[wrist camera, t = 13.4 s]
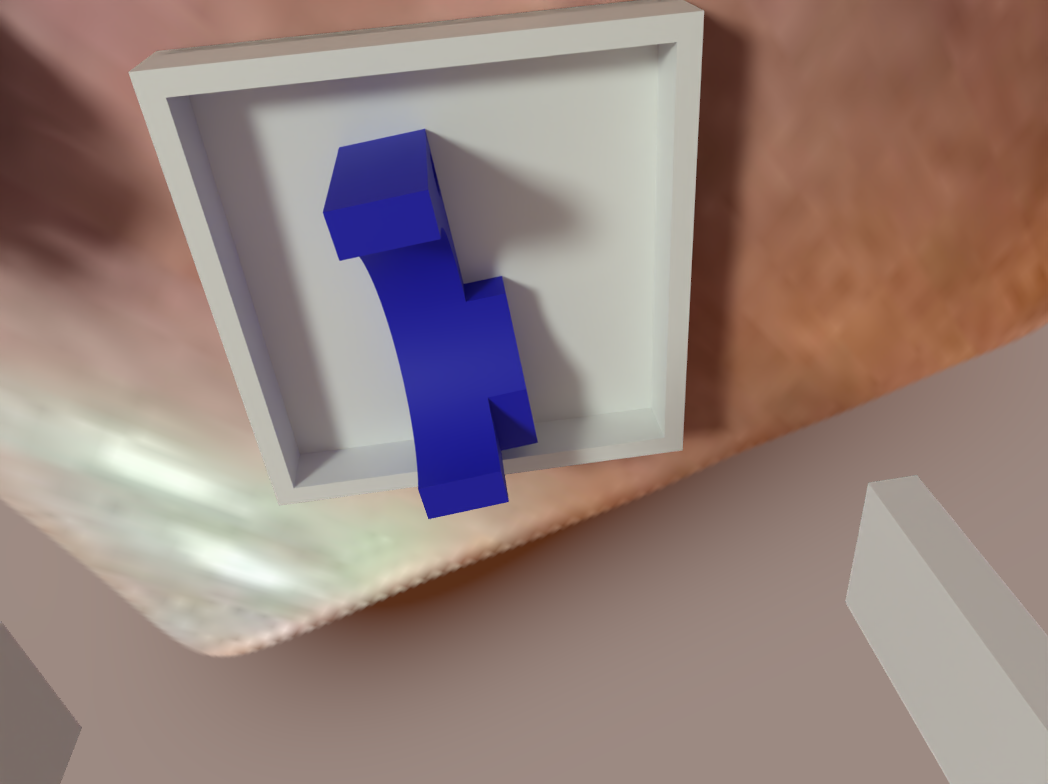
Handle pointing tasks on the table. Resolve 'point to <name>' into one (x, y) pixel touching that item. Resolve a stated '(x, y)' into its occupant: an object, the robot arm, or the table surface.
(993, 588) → the robot arm
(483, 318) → the blue curved block
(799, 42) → the table surface
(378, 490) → the kit tray
